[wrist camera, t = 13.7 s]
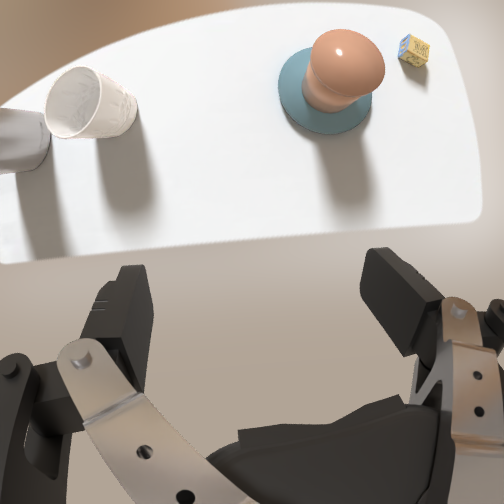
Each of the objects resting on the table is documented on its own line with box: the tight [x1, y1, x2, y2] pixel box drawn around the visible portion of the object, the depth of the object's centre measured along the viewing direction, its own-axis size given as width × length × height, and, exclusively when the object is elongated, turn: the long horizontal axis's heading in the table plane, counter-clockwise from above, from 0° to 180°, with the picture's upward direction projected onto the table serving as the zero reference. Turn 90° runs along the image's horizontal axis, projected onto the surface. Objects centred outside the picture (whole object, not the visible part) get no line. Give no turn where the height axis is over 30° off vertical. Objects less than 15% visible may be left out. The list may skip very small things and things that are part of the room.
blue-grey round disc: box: [278, 47, 372, 134], centre depth 30 cm, size 11×11×1 cm
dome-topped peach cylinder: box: [301, 29, 385, 114], centre depth 24 cm, size 6×6×10 cm
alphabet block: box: [398, 34, 430, 67], centre depth 26 cm, size 3×3×3 cm
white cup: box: [44, 65, 138, 139], centre depth 27 cm, size 8×8×10 cm
